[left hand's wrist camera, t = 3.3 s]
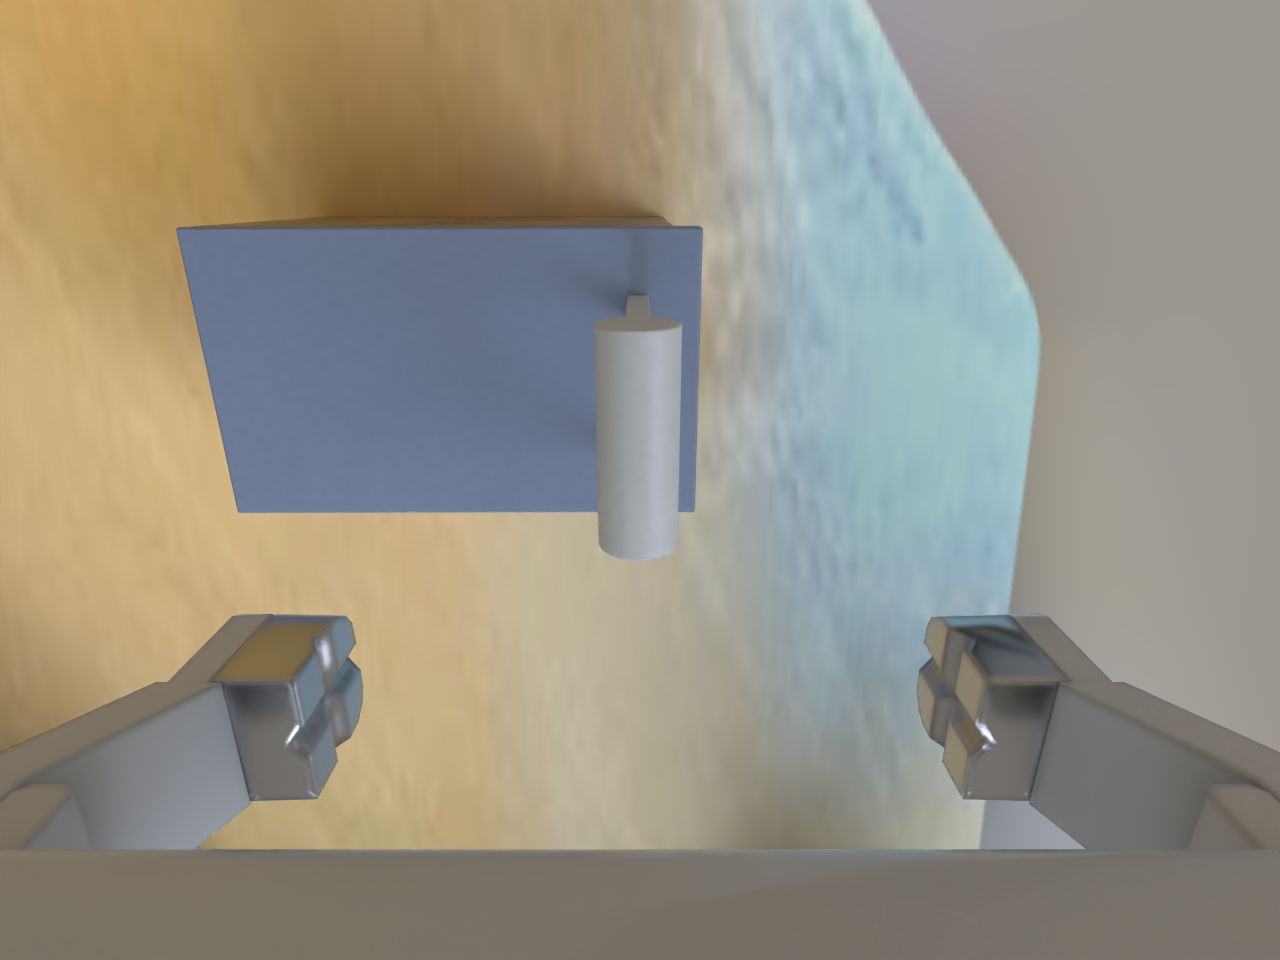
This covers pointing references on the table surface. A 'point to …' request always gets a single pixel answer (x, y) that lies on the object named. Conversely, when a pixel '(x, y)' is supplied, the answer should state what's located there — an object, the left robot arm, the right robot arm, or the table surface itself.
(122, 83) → the table surface
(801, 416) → the table surface
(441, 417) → the lid
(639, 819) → the table surface
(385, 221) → the chest
